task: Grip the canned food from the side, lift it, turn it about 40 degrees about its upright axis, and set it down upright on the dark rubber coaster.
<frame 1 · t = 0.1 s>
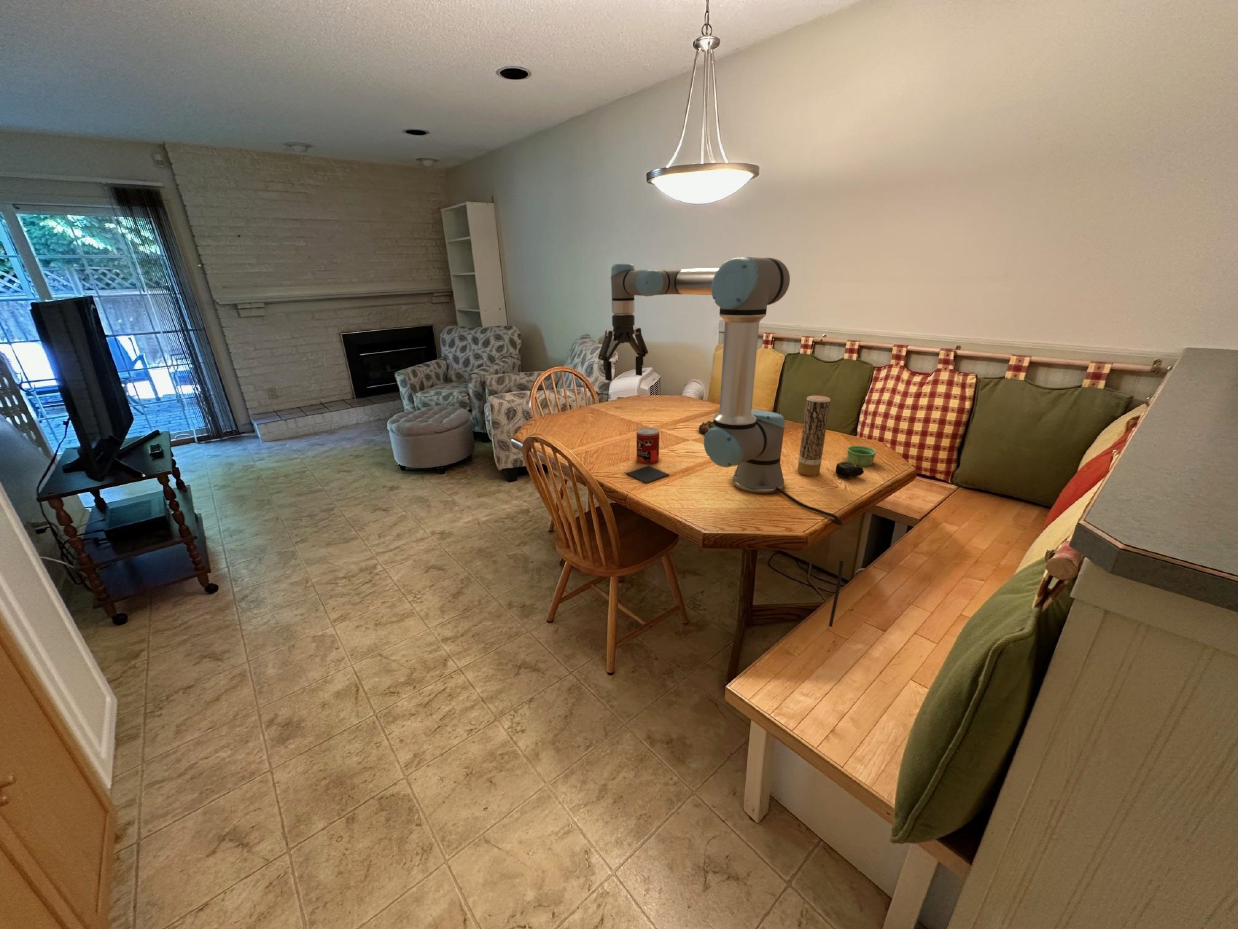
hand: (624, 377, 167), 28 cm above the table, tool pointing down, fingers open, 13 cm apart
tape measure: (848, 477, 153), on the table
ramekin: (859, 462, 165), on the table
paper tube: (808, 473, 156), on the table
canned food: (647, 460, 170), on the table
bread roll: (712, 432, 199), on the table
coaster: (647, 474, 157), on the table
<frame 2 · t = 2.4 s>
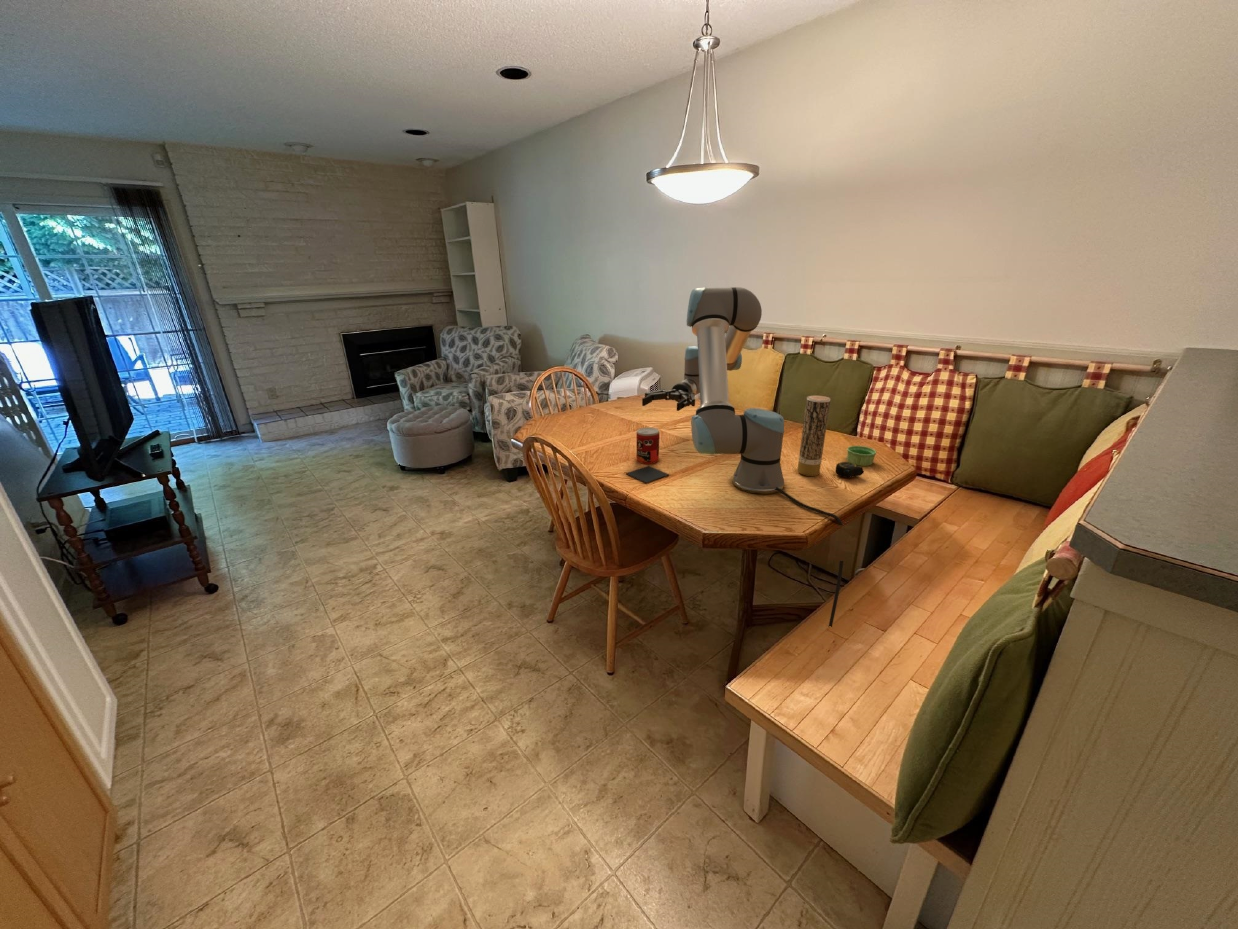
hand: (660, 404, 170), 18 cm above the table, tool horizontal, fingers open, 13 cm apart
nothing on the table moved.
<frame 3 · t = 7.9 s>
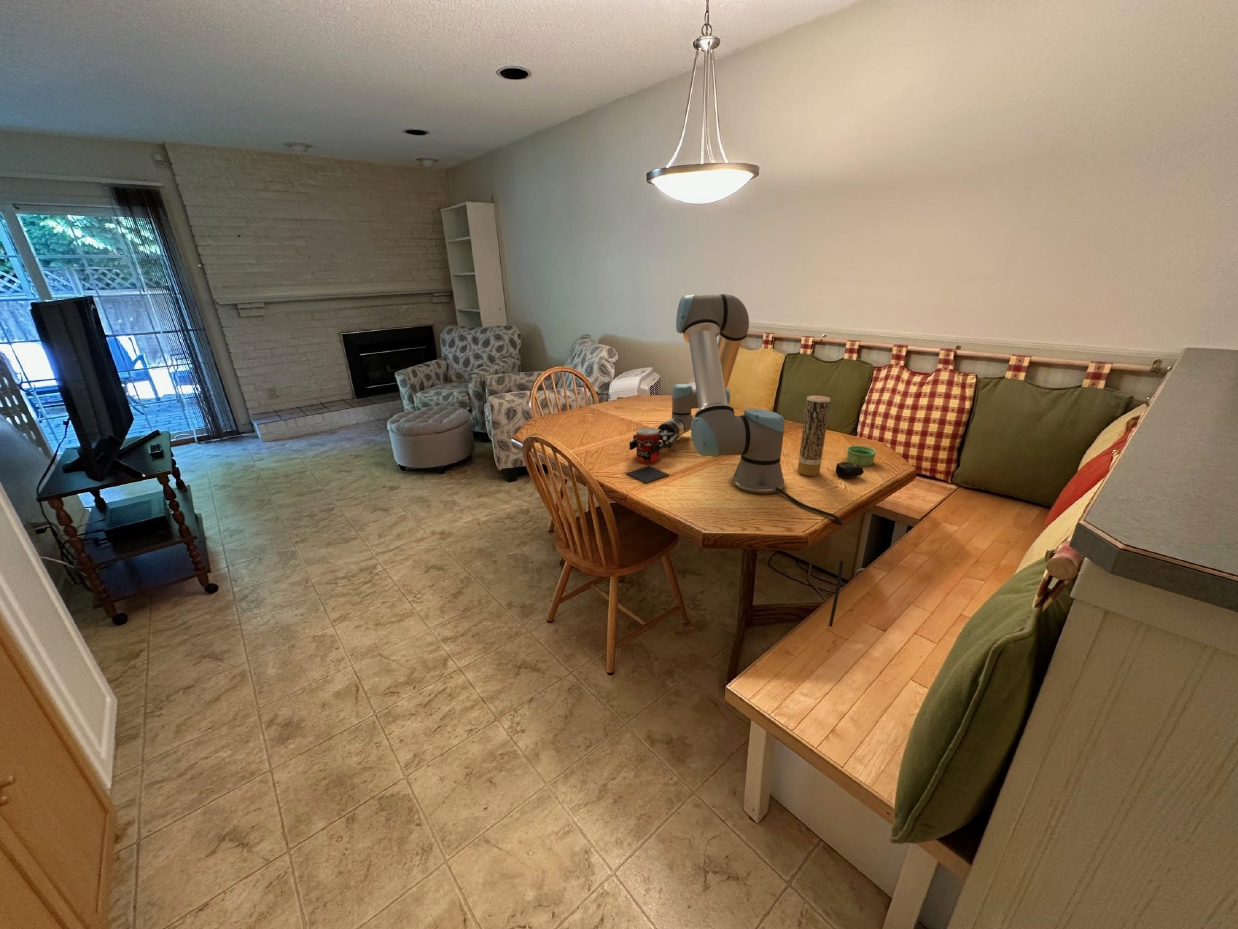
hand: (641, 448, 163), 6 cm above the table, tool horizontal, fingers closed on canned food, 8 cm apart
canned food: (647, 460, 170), on the table, touching gripper
everything else where it was.
when the fingers open (6 cm above the table, at t = 16.7 s): canned food stays where it is, resting on coaster.
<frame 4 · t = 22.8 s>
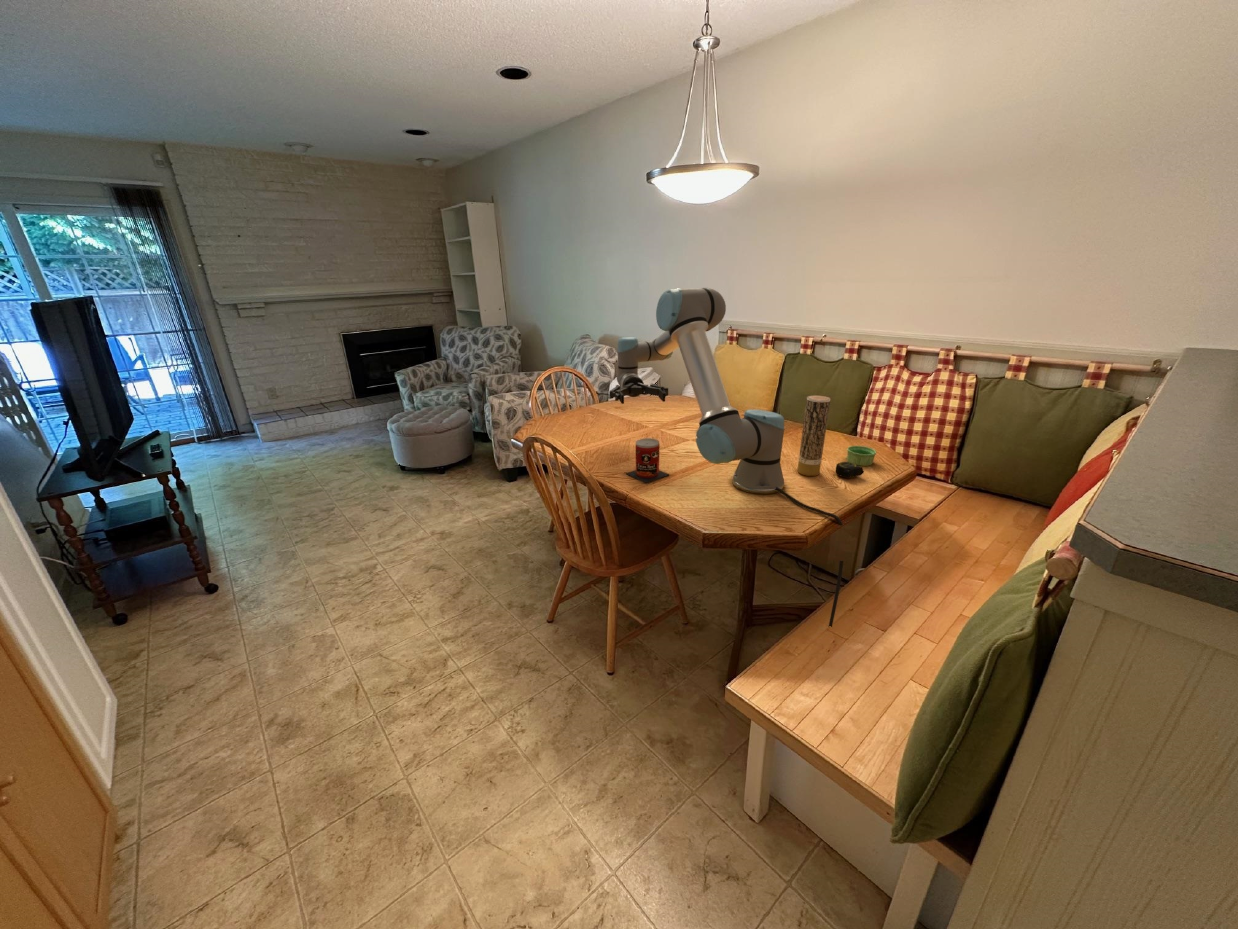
hand: (643, 398, 154), 24 cm above the table, tool horizontal, fingers open, 13 cm apart
canned food: (647, 474, 157), resting on coaster
everything else where it was.
at the end: canned food 0.1 cm off-centre on the coaster, point 0.2 cm above the coaster's base; canned food tilted 0°; the gripper is holding nothing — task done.
